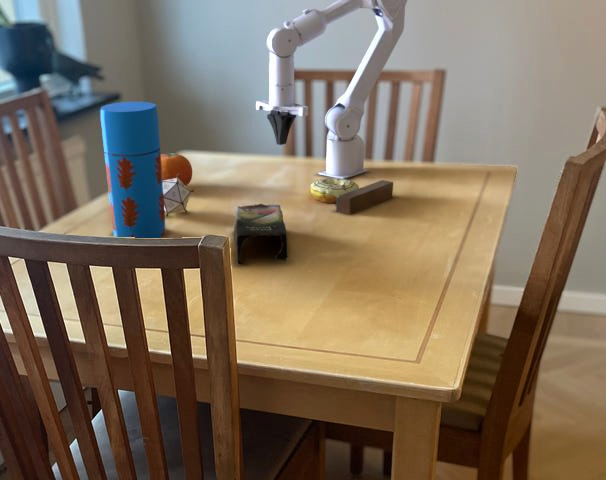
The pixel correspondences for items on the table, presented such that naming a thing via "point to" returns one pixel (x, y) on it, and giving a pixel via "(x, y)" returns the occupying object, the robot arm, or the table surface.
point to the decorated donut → (331, 188)
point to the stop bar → (364, 197)
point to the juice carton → (259, 226)
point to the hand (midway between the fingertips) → (281, 143)
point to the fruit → (176, 167)
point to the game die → (175, 195)
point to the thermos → (134, 169)
